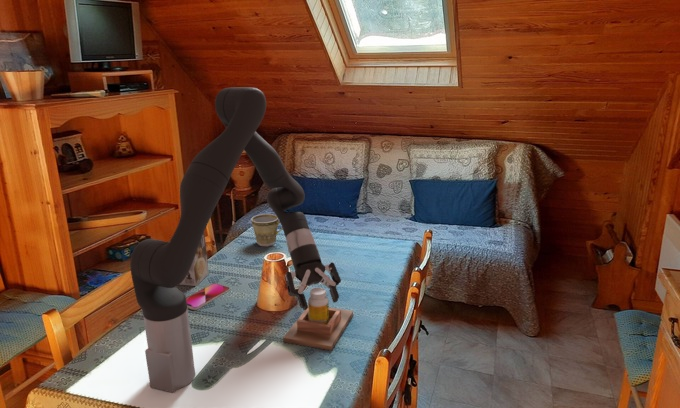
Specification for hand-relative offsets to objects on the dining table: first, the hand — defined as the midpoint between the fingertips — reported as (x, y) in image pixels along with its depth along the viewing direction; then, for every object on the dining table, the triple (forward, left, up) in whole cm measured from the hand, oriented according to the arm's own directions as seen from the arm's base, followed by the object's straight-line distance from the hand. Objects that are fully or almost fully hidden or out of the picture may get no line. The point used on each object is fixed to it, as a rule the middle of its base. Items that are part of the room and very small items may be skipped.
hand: (321, 305), depth 133 cm
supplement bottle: (+1, +1, -6) cm, 7 cm away
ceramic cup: (+51, +40, -8) cm, 65 cm away
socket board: (+1, +1, -7) cm, 8 cm away
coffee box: (+16, +50, -8) cm, 53 cm away
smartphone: (+7, +40, -8) cm, 41 cm away
